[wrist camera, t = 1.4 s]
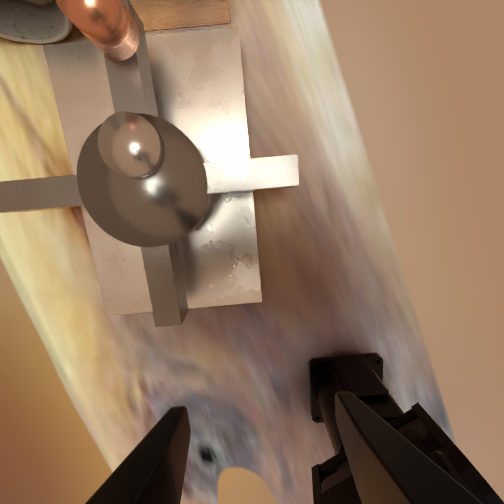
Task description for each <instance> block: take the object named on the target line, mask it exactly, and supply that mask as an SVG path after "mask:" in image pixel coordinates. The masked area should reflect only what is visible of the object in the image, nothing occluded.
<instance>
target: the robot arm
mask: <svg viewBox="0 0 504 504" xmlns="http://www.w3.org/2000/svg"><path fill="white" fill-rule="evenodd" d="M376 359H378V360H377V361H375V360H376ZM315 364H316V366H313V365H315ZM382 378H383V359H382V358H381V357H380V355H378V354H367V355H354V356H343V357H333V358H321V359H313V360H311V361H310V362H309V380H310V403H311V416H312V420H313V421H314V422H316V423H319V422H325V425H326V428H327V431H328V434H329V437H330V440H331V443H332V446H333V448H334V451H335V454H336V455H335V456H333V457H332V458H330V459H328V460H327V461H325V462H323V463H322V464H320V465H319V464H317V465H315V466H313V467H312V482H313V500H314V504H504V502H503V501H502V500H501V498H499V496H498V495H497V494H496V493H495V491H494V490H493V489H492V488H491V486H490V485H489V484H488V483H487V481H486V480H485V479H484V478H483V477H482V476H481V474H480V473H479V472H478V471H477V470H476V468H475V467H474V466H473V465H472V464H471V462H470V461H469V460H468V459H467V458H466V457H465V455H464V454H463V453H462V452H461V451H460V450H459V449H458V447H457V446H456V445H455V444H454V443H453V442H452V441H451V439H450V438H449V437H448V436H447V435H446V434H445V433H444V432H443V430H442V429H441V428H440V427H439V426H438V425H437V424H436V423H435V421H434V420H433V419H432V418H431V417H430V416H429V415H428V413H427V412H426V411H425V410H424V409H423V408H422V407H421V406H420V404H419V403H416V404H415V405H413V406H411V407H412V409H410V410H408V411H407V412H405V413H404V412H403V411H402V410H401V408H400V407H399V406H398V404H397V403H396V402H395V400H394V399H393V398H392V396H391V395H390V394H389V391H388V389H387V388H386V386H385V385H384V384H383V382H382ZM316 416H317V417H316ZM189 442H190V424H189V418H188V412H187V408H186V407H185V406H175V407H172V408H170V409H169V410H168V411H167V412H166V414H165V415H164V416H163V417H162V418H161V419H160V420H159V421H158V423H157V424H156V425H155V426H154V427H153V428H152V429H151V430H150V432H149V433H148V434H147V435H146V436H145V437H144V438H143V439H142V440H141V442H140V443H139V444H138V445H137V446H136V447H135V448H134V449H133V451H132V452H131V453H130V454H129V455H128V456H127V457H126V458H125V460H124V461H123V462H122V463H121V464H120V465H119V466H118V467H117V468H116V470H115V471H114V472H113V473H112V474H111V475H110V476H109V477H108V479H107V480H106V481H105V482H104V483H103V484H102V485H101V486H100V488H99V489H98V490H97V491H96V492H95V493H94V494H93V495H92V496H91V498H90V499H89V500H88V501H87V502H86V503H85V504H180V501H181V495H182V488H183V481H184V475H185V468H186V462H187V455H188V449H189Z"/></svg>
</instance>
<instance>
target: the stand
mask: <svg viewBox="0 0 504 504" xmlns="http://www.w3.org/2000/svg"><path fill="white" fill-rule="evenodd" d="M129 1H130V2H131V4H132V6H133V8H134V9H135V11H136V13H137V14H138V16H139V18H140V19H141V21H142V23H143V24H144V31H152V30H162V29H173V28H183V27H194V26H204V25H215V24H225V23H230V14H229V3H228V0H129ZM145 37H146V43H147V50H148V56H149V62H150V69H151V75H152V81H153V88H154V94H155V101H156V107H157V113H158V117H159V118H161V119H164V120H166V121H168V122H169V123H171V124H173V125H174V126H176V127H177V128H178V129H180V130H181V131H182V132H183V133H184V134H185V135H186V136H187V137H188V138H189V139H190V140H191V141H192V142H193V143H194V144H195V146H196V147H197V148H198V149H199V150H200V152H201V153H202V155H203V156H204V158H205V160H206V162H207V163H209V162H220V161H231V160H242V159H250V153H249V142H248V130H247V118H246V107H245V95H244V83H243V72H242V60H241V48H240V37H239V26H238V27H228V28H217V29H207V30H196V31H186V32H175V33H165V34H154V35H145ZM43 47H44V51H45V56H46V60H47V64H48V68H49V73H50V77H51V81H52V85H53V89H54V94H55V98H56V102H57V106H58V111H59V115H60V119H61V123H62V128H63V132H64V136H65V140H66V144H67V149H68V153H69V157H70V161H71V166H72V170H73V174H74V175H77V162H78V158H79V154H80V151H81V149H82V146H83V145H84V143H85V141H86V139H87V138H88V136H89V135H90V134H91V133H92V132H93V131H94V130H95V129H96V128H97V127H98V126H99V125H100V124H102V123H103V122H104V121H105V120H106V119H107V118H108V117H109V116H111V115H112V114H114V113H115V111H114V106H113V101H112V96H111V91H110V85H109V80H108V75H107V70H106V64H105V59H104V54H103V53H102V52H101V51H100V50H99V49H98V48H97V47H96V46H95V45H94V44H93V43H92V42H91V41H81V42H71V43H60V44H50V45H43ZM81 208H82V212H83V216H84V221H85V225H86V229H87V233H88V238H89V242H90V246H91V250H92V254H93V259H94V263H95V267H96V271H97V276H98V280H99V284H100V288H101V293H102V297H103V301H104V305H105V309H106V314H107V316H109V315H120V314H132V313H143V312H153V310H152V305H151V299H150V294H149V289H148V284H147V279H146V273H145V268H144V263H143V258H142V252H141V247H137V246H133V245H129V244H126V243H123V242H121V241H119V240H117V239H115V238H113V237H112V236H110V235H109V234H107V233H106V232H105V231H104V230H102V229H101V228H100V227H99V226H98V225H97V224H96V223H95V222H94V220H93V219H92V218H91V216H90V215H89V213H88V212H87V210H86V208H85V207H84V206H83V207H81ZM178 247H179V253H180V260H181V266H182V272H183V279H184V285H185V291H186V298H187V304H188V308H199V307H210V306H222V305H233V304H244V303H255V302H262V293H261V281H260V270H259V258H258V246H257V235H256V223H255V211H254V200H253V191H246V192H236V193H225V194H214V195H212V200H211V204H210V207H209V210H208V212H207V214H206V216H205V218H204V219H203V221H202V222H201V223H200V224H199V226H198V227H197V228H196V229H194V230H193V231H192V232H191V233H189V234H187V235H186V236H184V237H182V238H180V239H178Z"/></svg>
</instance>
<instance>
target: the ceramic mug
mask: <svg viewBox="0 0 504 504" xmlns="http://www.w3.org/2000/svg"><path fill="white" fill-rule="evenodd" d="M71 29H72V22H71V20H70V19H69V18H68V17H67V16H66V15H65V14H64V13H63V12H62V11H61V9H60V8H59V6H58V4H57V3H56V0H0V37H2V38H5V39H9V40H13V41H19V42H25V43H38V44H45V43H53V42H58V41H60V40H63V39H64V38H66V37H67V36H68V34H69V33H70V32H71Z"/></svg>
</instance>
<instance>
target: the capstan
mask: <svg viewBox="0 0 504 504" xmlns="http://www.w3.org/2000/svg"><path fill="white" fill-rule="evenodd" d="M56 3H57V4H58V6H59V8H60V9H61V11H62V12H63V13H64V14H65V15H66V16H67V17H68V18H69V19H70V20H71V22H72V23H73V24H74V25H75V26H76V27H77V28H78V29H79V30H80V31H81V32H82V33H83V34H84V35H85V36H86V37H87V38H88V39H89V40H90V41H91V42H92V43H93V44H94V45H95V46H96V47H97V48H98V49H99V50H100V51H101V52H102V53H103V54H104V59H105V64H106V70H107V75H108V80H109V85H110V91H111V96H112V101H113V106H114V111H115V113H114V114H112V115H111V116H109V117H108V118H107V119H106V120H105V121H104V122H103V123H102V124H100V125H99V126H98V127H97V128H96V129H95V130H94V131H93V132H92V133H91V134H90V135H89V136H88V138H87V139H86V141H85V143H84V145H83V146H82V149H81V151H80V154H79V158H78V162H77V175H68V176H58V177H47V178H36V179H25V180H14V181H3V182H0V213H8V212H28V211H39V210H50V209H61V208H72V207H83V206H84V207H85V208H86V210H87V212H88V213H89V215H90V216H91V218H92V219H93V220H94V222H95V223H96V224H97V225H98V226H99V227H100V228H101V229H102V230H104V231H105V232H106V233H107V234H109V235H110V236H112V237H113V238H115V239H117V240H119V241H121V242H123V243H126V244H129V245H133V246H137V247H141V252H142V258H143V263H144V268H145V273H146V279H147V284H148V289H149V294H150V299H151V305H152V310H153V315H154V320H155V326H156V327H159V326H170V325H181V324H182V322H183V321H184V319H185V317H186V315H187V313H188V312H189V310H188V304H187V298H186V291H185V285H184V279H183V272H182V266H181V260H180V253H179V247H178V239H180V238H182V237H184V236H186V235H187V234H189V233H191V232H192V231H193V230H194V229H196V228H197V227H198V226H199V224H200V223H201V222H202V221H203V219H204V218H205V216H206V214H207V212H208V210H209V207H210V204H211V200H212V195H214V194H225V193H236V192H246V191H257V190H268V189H279V188H290V187H295V186H298V185H299V174H298V154H296V155H285V156H274V157H263V158H252V159H242V160H231V161H220V162H209V163H207V162H206V160H205V158H204V156H203V155H202V153H201V152H200V150H199V149H198V148H197V147H196V146H195V144H194V143H193V142H192V141H191V140H190V139H189V138H188V137H187V136H186V135H185V134H184V133H183V132H182V131H181V130H180V129H178V128H177V127H176V126H174V125H173V124H171V123H169V122H168V121H166V120H164V119H161V118H159V117H158V113H157V107H156V101H155V94H154V88H153V81H152V75H151V69H150V62H149V56H148V50H147V43H146V37H145V31H144V24H143V23H142V21H141V19H140V18H139V16H138V14H137V13H136V11H135V9H134V8H133V6H132V4H131V2H130V1H129V0H56Z"/></svg>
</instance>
